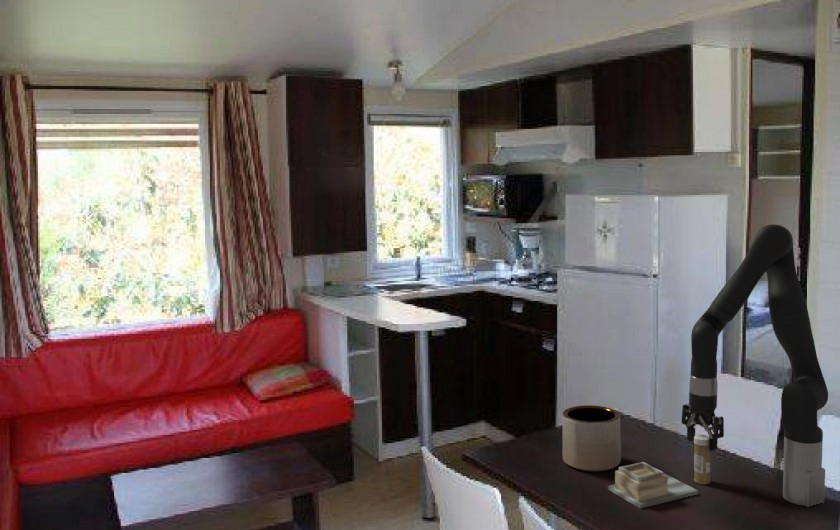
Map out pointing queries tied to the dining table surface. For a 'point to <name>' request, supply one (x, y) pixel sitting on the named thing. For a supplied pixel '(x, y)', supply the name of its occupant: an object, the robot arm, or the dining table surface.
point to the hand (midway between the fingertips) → (701, 445)
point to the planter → (591, 438)
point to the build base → (672, 493)
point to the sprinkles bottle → (702, 459)
